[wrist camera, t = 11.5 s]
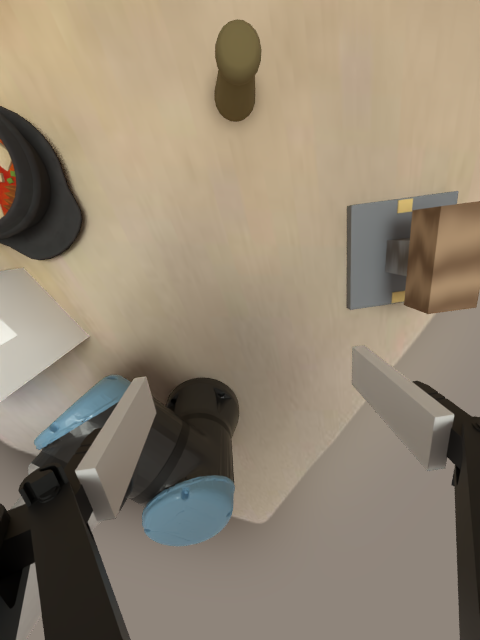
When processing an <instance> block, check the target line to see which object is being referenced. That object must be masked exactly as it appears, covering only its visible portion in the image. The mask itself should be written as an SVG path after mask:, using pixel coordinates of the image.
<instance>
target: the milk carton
mask: <svg viewBox="0 0 480 640" xmlns="http://www.w3.org/2000/svg"><path fill="white" fill-rule="evenodd" d="M88 337H89V334H88V333H87V332H86V331H85V330H84V329H83V328H82V327H81V326H80V325H79V324H78V323H77V322H76V321H75V320H74V319H73V318H72V317H71V316H70V315H69V314H68V313H67V312H66V311H65V310H64V309H63V308H62V307H61V306H60V305H59V304H58V303H57V302H56V301H55V299H54V298H53V297H52V296H51V295H50V294H49V293H48V292H47V291H46V290H45V289H44V288H43V287H42V286H41V285H40V284H39V283H38V282H37V281H36V280H35V279H34V278H33V277H32V276H31V275H30V274H29V273H28V272H27V271H26V270H25V269H24V268H18V269H11V270H4V271H0V402H1V401H2V400H4V399H5V398H6V397H8V396H9V395H11V394H12V393H13V392H15V391H16V390H17V389H19V388H20V387H21V386H23V385H24V384H26V383H27V382H28V381H30V380H31V379H32V378H34V377H35V376H36V375H38V374H39V373H41V372H42V371H43V370H45V369H46V368H47V367H49V366H50V365H51V364H53V363H54V362H56V361H57V360H58V359H60V358H61V357H62V356H64V355H65V354H66V353H68V352H69V351H70V350H72V349H73V348H75V347H76V346H77V345H79V344H80V343H81V342H83V341H84V340H85V339H87V338H88Z"/></svg>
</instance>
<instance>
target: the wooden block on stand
mask: <svg viewBox="0 0 480 640" xmlns="http://www.w3.org/2000/svg"><path fill="white" fill-rule="evenodd" d="M385 272H388V273H393V274H398V275H402V276H407V277H406V288H405V299H404V305H405V306H408V307H411V308H413V309H416V310H419V311H421V312H424V313H427V314H431V313H439V312H446V311H454V310H460V309H469V308H476V306H477V301H478V295H479V290H480V201H479V202H471V203H463V204H455V205H447V206H439V207H432V208H425V209H418V210H412V222H411V233H410V238H403V239H395V240H387V249H386V265H385Z"/></svg>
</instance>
